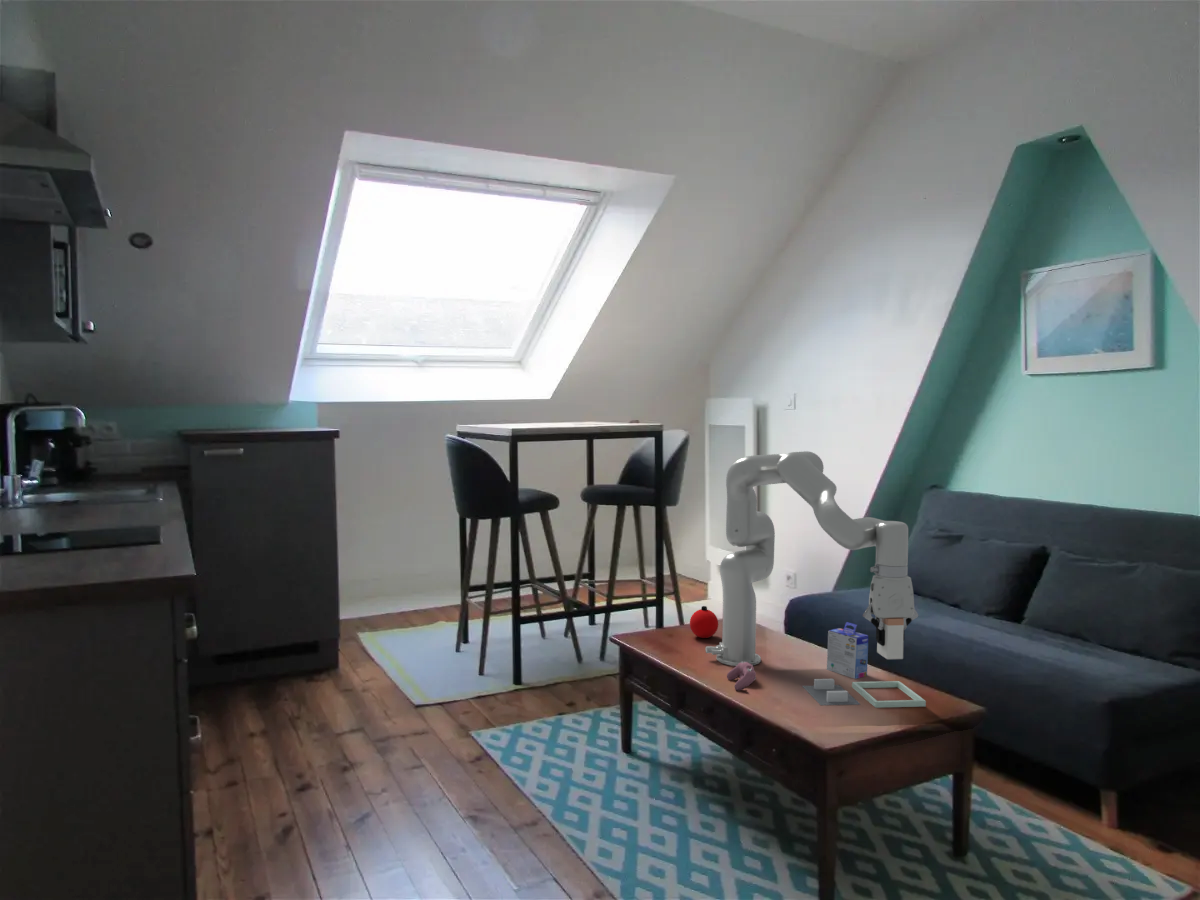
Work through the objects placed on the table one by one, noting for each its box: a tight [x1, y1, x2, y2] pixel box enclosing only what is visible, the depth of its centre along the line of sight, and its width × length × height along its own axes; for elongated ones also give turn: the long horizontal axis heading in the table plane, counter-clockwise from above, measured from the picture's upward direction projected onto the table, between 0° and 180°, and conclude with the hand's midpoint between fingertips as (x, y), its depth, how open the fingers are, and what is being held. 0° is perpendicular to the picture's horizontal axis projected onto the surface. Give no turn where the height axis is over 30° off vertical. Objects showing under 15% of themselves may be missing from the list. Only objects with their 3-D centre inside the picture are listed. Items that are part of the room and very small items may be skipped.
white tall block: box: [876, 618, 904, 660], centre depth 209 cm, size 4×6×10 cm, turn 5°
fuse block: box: [801, 678, 861, 706], centre depth 211 cm, size 10×14×4 cm
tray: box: [851, 680, 927, 708], centre depth 211 cm, size 13×15×2 cm
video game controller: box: [726, 661, 757, 691], centre depth 222 cm, size 10×5×7 cm, turn 5°
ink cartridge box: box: [826, 621, 869, 680], centre depth 229 cm, size 10×6×14 cm, turn 36°
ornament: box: [689, 605, 719, 639], centre depth 266 cm, size 9×9×10 cm
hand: (890, 643), depth 210 cm, fingers closed on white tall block, 4 cm apart
